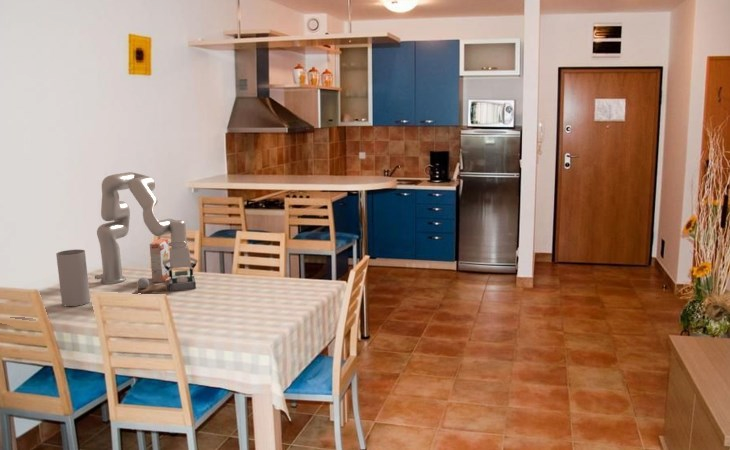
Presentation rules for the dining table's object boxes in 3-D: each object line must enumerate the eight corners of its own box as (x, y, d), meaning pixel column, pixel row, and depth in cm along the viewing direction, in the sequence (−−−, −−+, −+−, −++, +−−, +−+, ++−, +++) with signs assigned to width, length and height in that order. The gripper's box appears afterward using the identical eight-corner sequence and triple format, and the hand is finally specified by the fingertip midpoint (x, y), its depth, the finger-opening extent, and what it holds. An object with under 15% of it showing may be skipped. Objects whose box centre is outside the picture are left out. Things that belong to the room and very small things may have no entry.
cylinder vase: (63, 308, 320) (57, 256, 316) (61, 302, 331) (55, 251, 327) (91, 304, 326) (86, 253, 321) (88, 298, 337) (83, 248, 332)
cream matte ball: (176, 285, 353) (176, 274, 352) (188, 284, 355) (187, 273, 354) (177, 287, 348) (176, 277, 347) (188, 286, 349) (187, 276, 348)
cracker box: (163, 282, 362) (160, 243, 358) (152, 282, 362) (148, 244, 358) (171, 275, 376) (168, 238, 372) (160, 276, 376) (157, 238, 372)
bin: (170, 291, 344) (170, 284, 343) (169, 279, 367) (168, 273, 367) (195, 288, 348) (195, 281, 347) (193, 277, 371) (192, 271, 370)
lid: (169, 279, 353) (169, 274, 352) (168, 273, 365) (168, 269, 364) (194, 276, 356) (193, 272, 356) (192, 271, 368) (192, 266, 368)
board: (137, 294, 340) (137, 291, 340) (138, 289, 350) (137, 286, 350) (166, 291, 344) (166, 288, 344) (166, 286, 354) (166, 283, 354)
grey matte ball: (137, 290, 342) (136, 279, 341) (138, 287, 347) (137, 276, 346) (149, 289, 344) (148, 278, 343) (149, 286, 349) (148, 275, 348)
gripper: (161, 247, 341) (163, 280, 345) (197, 244, 346) (199, 277, 350) (161, 244, 349) (163, 277, 352) (196, 242, 353) (198, 274, 357)
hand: (181, 277), depth 351 cm, fingers open, 9 cm apart
